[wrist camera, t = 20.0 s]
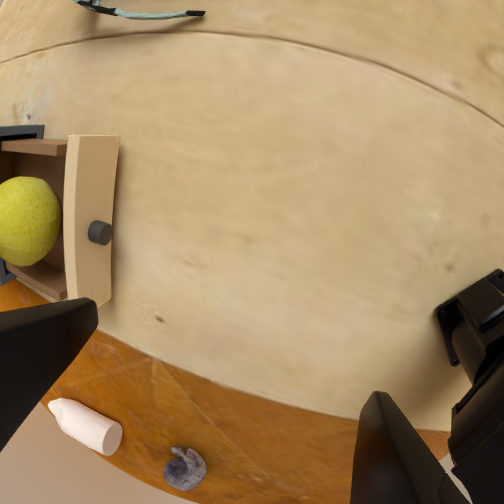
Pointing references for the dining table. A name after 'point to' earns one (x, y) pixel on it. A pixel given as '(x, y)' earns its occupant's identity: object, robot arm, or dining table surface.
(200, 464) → the seashell
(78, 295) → the drawer
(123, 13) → the sunglasses
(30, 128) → the cabinet
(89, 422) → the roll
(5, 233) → the fruit
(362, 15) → the dining table surface
